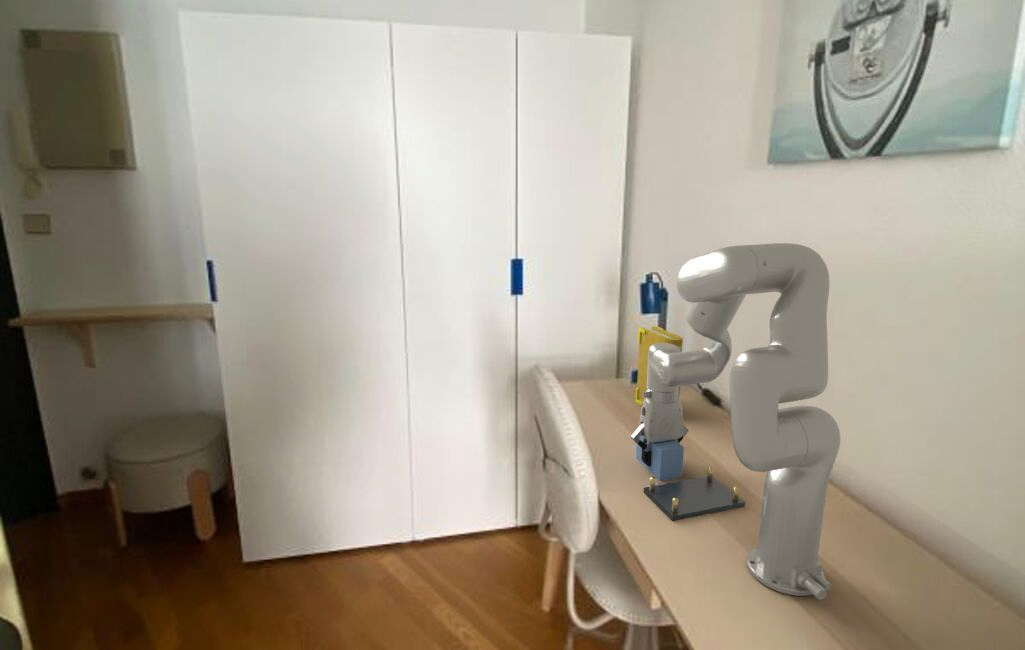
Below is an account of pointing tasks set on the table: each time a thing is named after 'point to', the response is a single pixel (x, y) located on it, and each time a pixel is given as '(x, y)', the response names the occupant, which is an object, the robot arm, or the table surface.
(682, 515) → the dowel plate
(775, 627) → the table surface
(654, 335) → the book
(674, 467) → the blue block
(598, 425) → the table surface
